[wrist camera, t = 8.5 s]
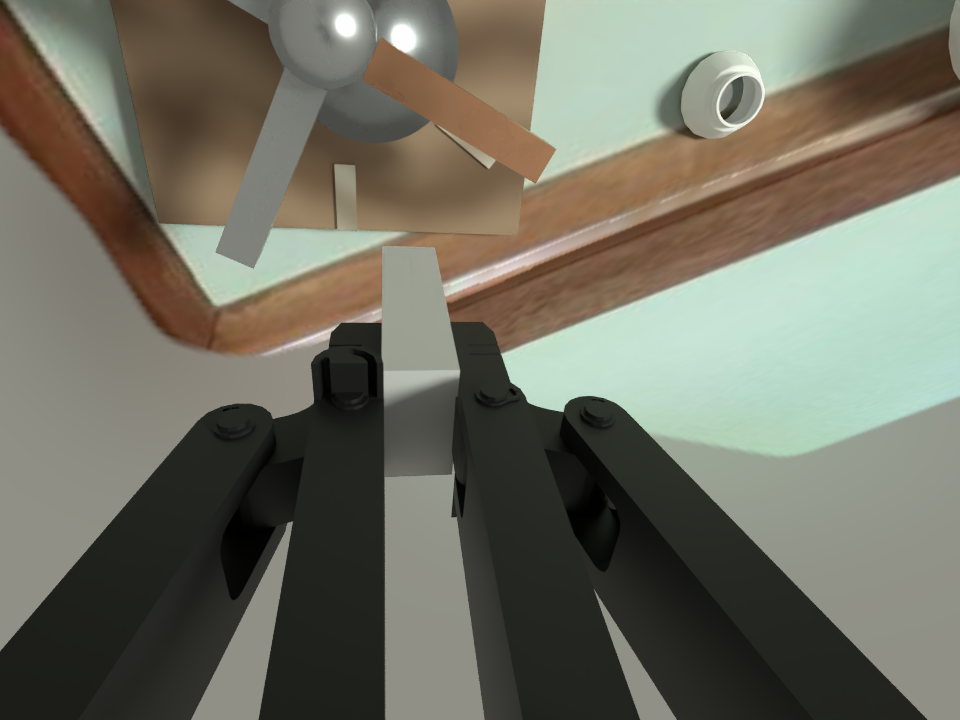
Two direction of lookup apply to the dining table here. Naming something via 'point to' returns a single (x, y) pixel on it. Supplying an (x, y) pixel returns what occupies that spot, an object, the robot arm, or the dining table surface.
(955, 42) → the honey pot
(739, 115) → the white round hollow piece
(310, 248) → the dining table surface
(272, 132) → the capstan
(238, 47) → the board
